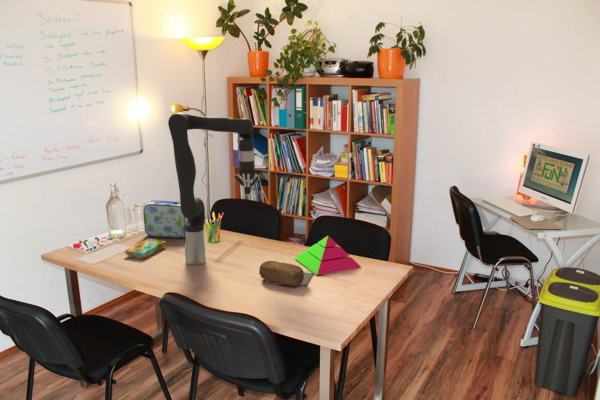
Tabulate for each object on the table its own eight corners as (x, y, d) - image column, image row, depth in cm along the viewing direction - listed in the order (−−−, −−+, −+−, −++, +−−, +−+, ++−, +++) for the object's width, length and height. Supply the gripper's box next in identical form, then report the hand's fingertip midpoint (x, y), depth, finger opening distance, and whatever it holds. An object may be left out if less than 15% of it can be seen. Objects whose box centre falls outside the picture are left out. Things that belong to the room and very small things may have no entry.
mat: (263, 282, 245) (263, 281, 245) (273, 269, 260) (273, 268, 260) (306, 286, 240) (306, 285, 240) (313, 272, 255) (313, 271, 255)
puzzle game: (124, 249, 276) (148, 237, 294) (125, 257, 277) (149, 245, 295) (143, 251, 272) (166, 239, 290) (144, 260, 273) (167, 247, 291)
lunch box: (193, 233, 313) (191, 199, 308) (186, 239, 303) (184, 204, 298) (151, 231, 318) (149, 197, 312) (143, 237, 307) (140, 202, 302)
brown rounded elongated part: (257, 279, 246) (294, 288, 237) (257, 263, 245) (294, 272, 235) (270, 272, 256) (306, 281, 246) (271, 257, 254) (307, 265, 244)
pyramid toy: (336, 251, 284) (337, 225, 280) (361, 267, 262) (363, 239, 258) (294, 257, 273) (294, 231, 269) (316, 275, 251) (317, 246, 247)
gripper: (231, 160, 256) (232, 195, 260) (257, 161, 253) (258, 196, 257) (236, 157, 263) (237, 191, 267) (262, 158, 260) (263, 192, 264)
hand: (248, 194), depth 262 cm, fingers closed
